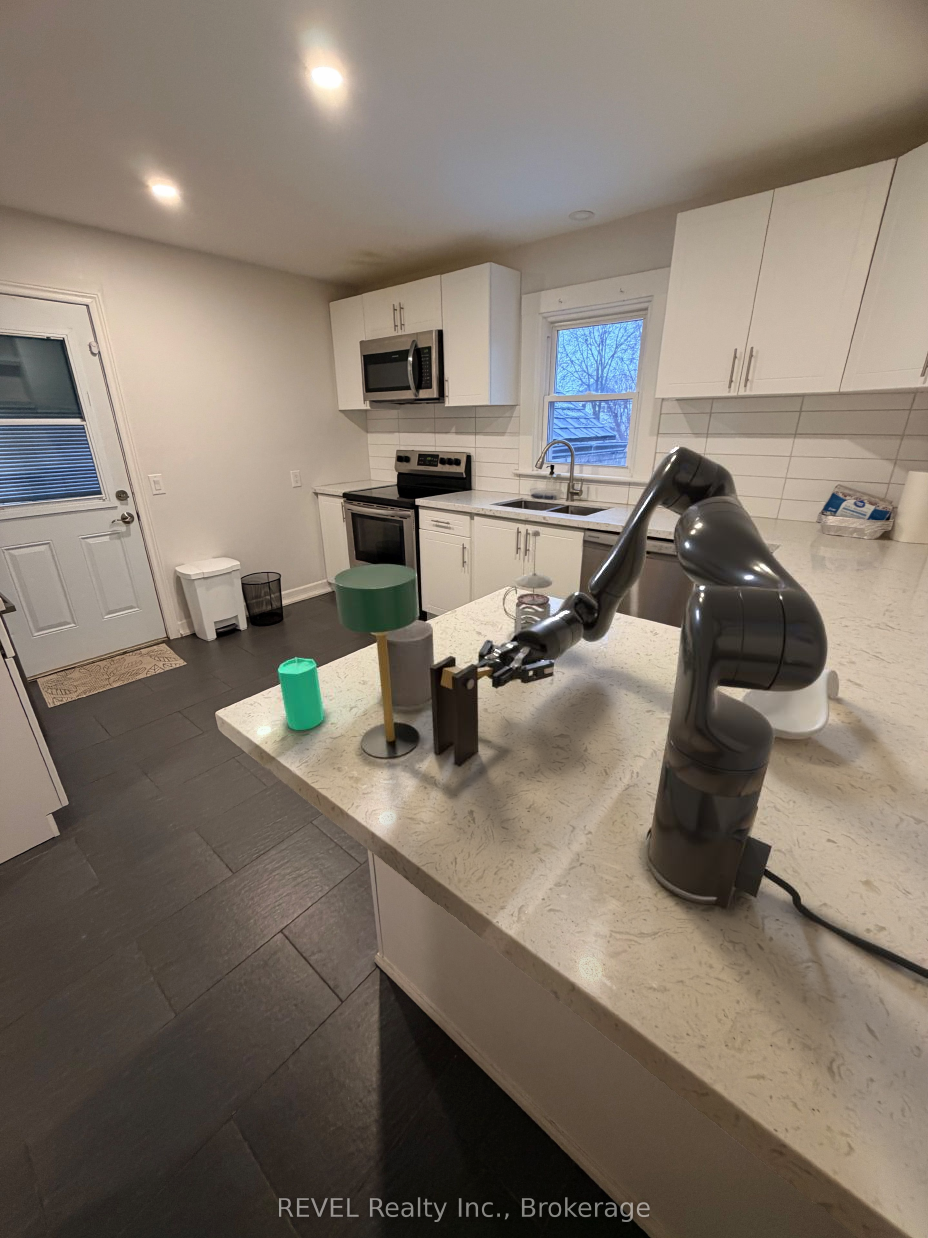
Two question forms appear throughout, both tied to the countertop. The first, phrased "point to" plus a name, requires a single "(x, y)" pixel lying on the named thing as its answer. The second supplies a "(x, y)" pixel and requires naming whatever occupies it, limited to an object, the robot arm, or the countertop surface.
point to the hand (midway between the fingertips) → (484, 678)
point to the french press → (530, 598)
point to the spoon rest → (797, 707)
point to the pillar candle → (410, 663)
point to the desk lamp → (380, 638)
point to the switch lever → (487, 671)
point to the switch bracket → (455, 711)
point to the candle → (301, 693)
